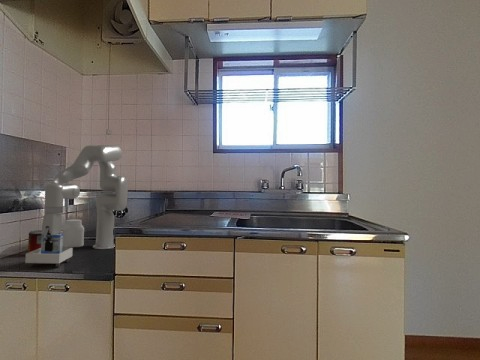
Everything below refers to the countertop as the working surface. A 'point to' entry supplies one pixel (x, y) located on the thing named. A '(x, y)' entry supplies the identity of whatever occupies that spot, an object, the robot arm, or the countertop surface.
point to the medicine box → (56, 244)
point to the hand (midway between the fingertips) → (51, 249)
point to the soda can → (34, 240)
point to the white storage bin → (48, 257)
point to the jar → (73, 233)
